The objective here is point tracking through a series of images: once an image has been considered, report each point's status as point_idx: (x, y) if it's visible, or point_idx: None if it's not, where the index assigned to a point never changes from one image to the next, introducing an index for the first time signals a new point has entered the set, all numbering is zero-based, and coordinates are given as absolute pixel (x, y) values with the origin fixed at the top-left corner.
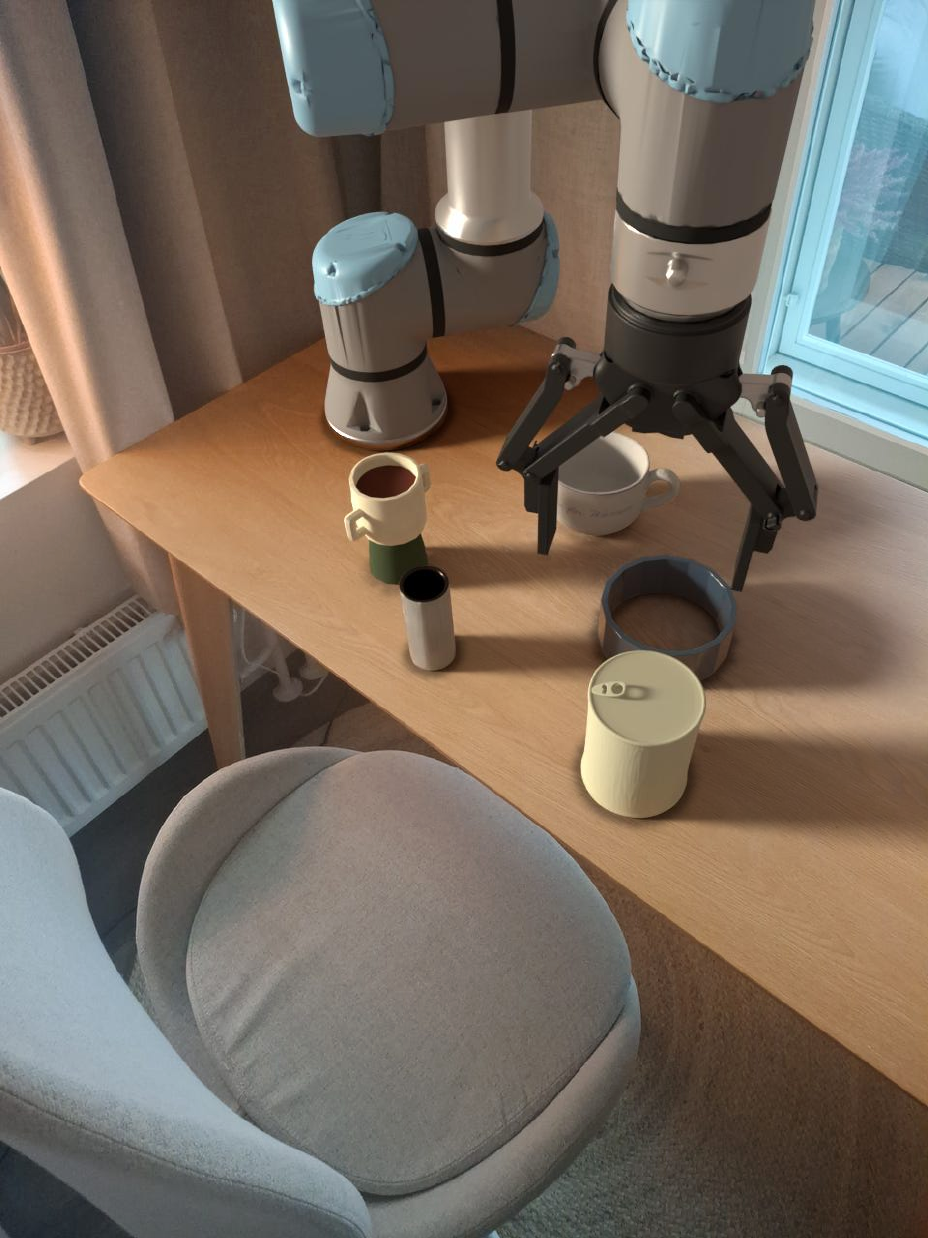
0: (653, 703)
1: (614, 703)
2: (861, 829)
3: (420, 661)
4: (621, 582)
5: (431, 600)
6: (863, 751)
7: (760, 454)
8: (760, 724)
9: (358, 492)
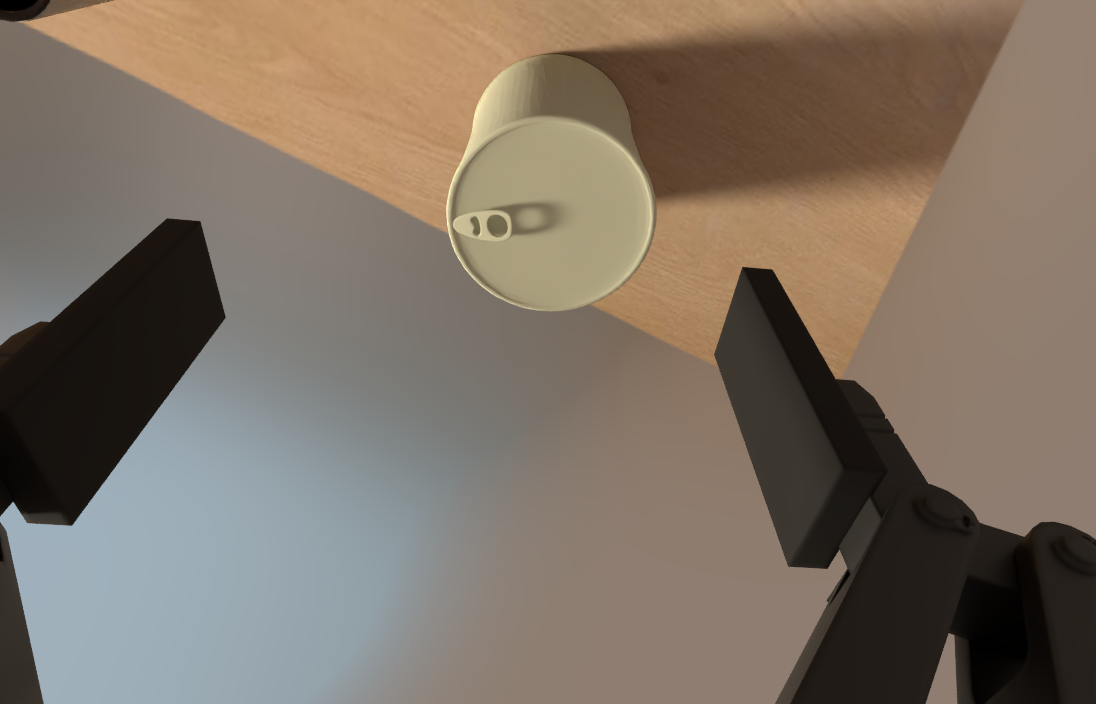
0: (564, 235)
1: (497, 245)
2: (864, 177)
3: None
4: None
5: (40, 10)
6: (921, 36)
7: (927, 695)
8: (760, 7)
9: None
